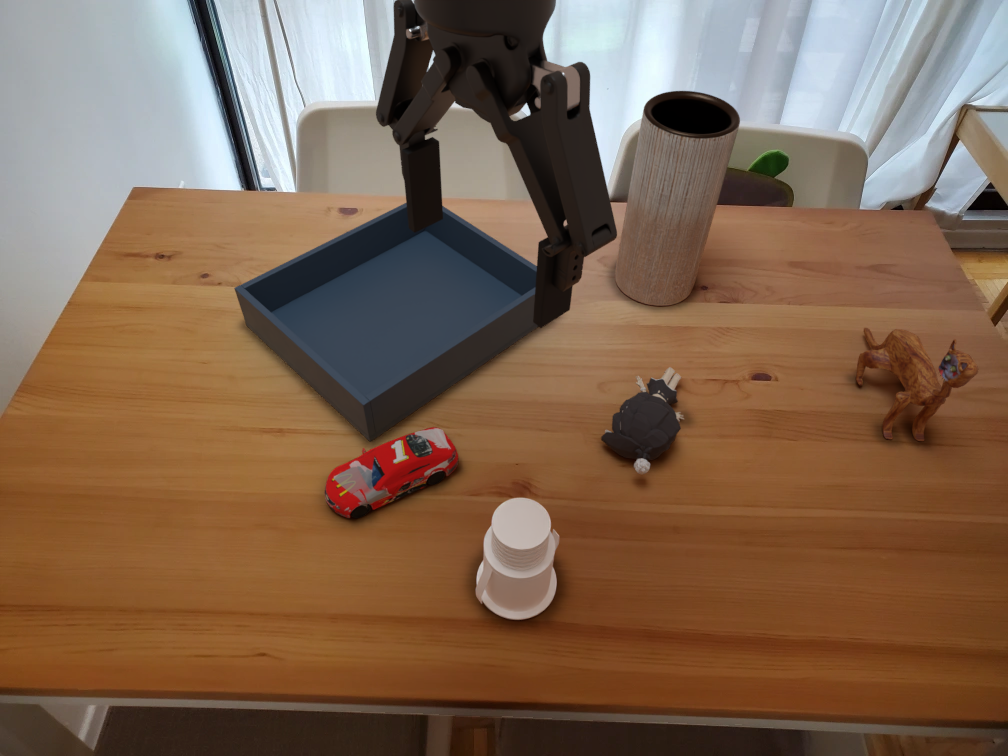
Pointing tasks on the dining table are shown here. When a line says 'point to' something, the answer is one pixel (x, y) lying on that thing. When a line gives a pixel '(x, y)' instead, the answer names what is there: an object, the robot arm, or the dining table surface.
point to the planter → (673, 194)
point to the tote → (392, 313)
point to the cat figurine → (915, 375)
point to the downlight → (518, 561)
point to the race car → (390, 472)
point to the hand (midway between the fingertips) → (484, 267)
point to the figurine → (646, 422)
